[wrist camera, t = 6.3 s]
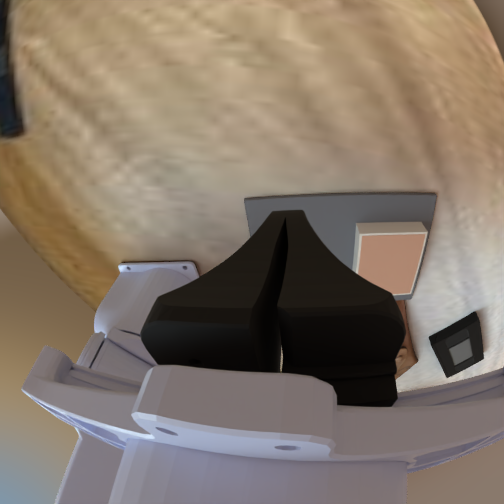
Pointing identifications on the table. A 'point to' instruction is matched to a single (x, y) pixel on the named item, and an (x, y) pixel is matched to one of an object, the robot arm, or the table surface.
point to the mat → (347, 216)
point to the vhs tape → (459, 345)
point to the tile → (389, 254)
